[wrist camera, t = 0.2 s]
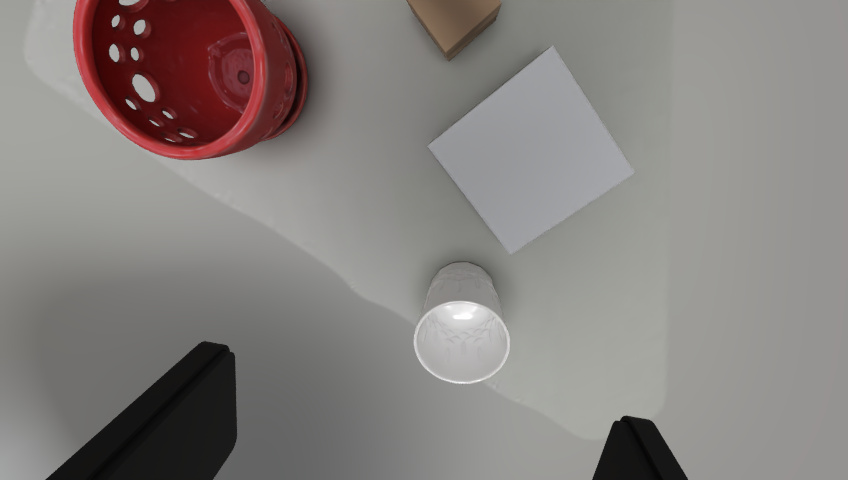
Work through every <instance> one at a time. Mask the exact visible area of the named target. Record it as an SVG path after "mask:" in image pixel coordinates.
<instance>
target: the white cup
mask: <svg viewBox="0 0 848 480" xmlns="http://www.w3.org/2000/svg"><path fill="white" fill-rule="evenodd" d="M414 348H415V352H416V355H417V357H418V359H419V361H420V362H421V364H422V365H423V366H424V367H425V368H426V369H427V370H428V371H429V372H430V373H431V374H433V375H434V376H436V377H438V378H440V379H442V380H445V381H447V382H451V383H457V384H469V383H476V382H479V381H482V380H485V379H487V378H489V377H491V376H492V375H494V374H495V373H496V372H497V371H498V370H499V369H500V368H501V367H502V366H503V365H504V363H505V361H506V359H507V357H508V354H509V350H510V337H509V333H508V329H507V326H506V322H505V319H504V315H503V312H502V308H501V304H500V301H499V298H498V295H497V293H496V291H495V289H494V286H493V283H492V279H491V277H490V276H489V275H488V274H487V273H486V272H485V271H484V270H483V269H482V268H481V267H479V266H476V265H474V264H471V263H469V262H458V263H451V264H449V265H447V266H446V267H444V268H442V269H440V270H439V271H438V273H437V274H436V276H435V277H434V278H433V280H432V282H431V286H430V288H429V290H428V293H427V295H426V298H425V301H424V303H423V307H422V310H421V313H420V317H419V320H418V323H417V327H416V330H415V333H414Z"/></svg>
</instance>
